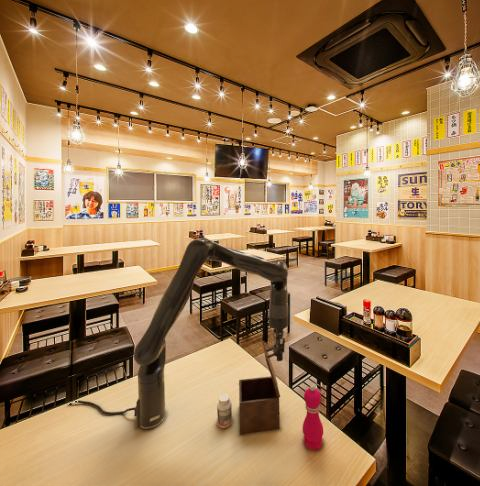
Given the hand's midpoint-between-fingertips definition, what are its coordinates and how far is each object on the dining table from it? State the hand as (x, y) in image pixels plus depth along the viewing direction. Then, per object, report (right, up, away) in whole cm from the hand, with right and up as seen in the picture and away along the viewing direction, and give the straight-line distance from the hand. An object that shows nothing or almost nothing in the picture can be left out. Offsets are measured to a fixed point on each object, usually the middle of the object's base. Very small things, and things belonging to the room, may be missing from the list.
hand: (278, 356), depth 100 cm
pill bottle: (-21, -24, -2) cm, 32 cm away
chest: (-8, -24, 0) cm, 25 cm away
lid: (-3, -4, 0) cm, 6 cm away
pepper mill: (+12, -24, -11) cm, 29 cm away
